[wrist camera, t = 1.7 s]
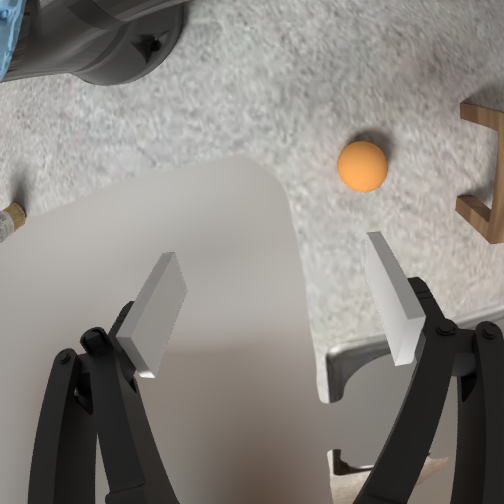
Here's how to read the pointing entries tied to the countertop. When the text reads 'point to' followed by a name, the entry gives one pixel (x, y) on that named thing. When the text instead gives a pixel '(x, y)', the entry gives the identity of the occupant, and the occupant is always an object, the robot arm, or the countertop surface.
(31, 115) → the countertop surface
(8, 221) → the sprinkles bottle
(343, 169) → the ball
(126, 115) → the countertop surface
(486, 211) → the bridge
